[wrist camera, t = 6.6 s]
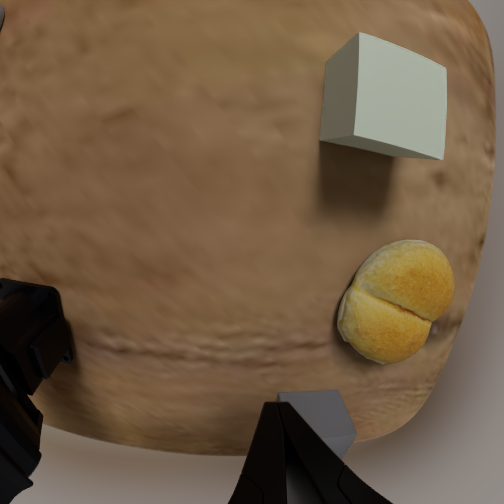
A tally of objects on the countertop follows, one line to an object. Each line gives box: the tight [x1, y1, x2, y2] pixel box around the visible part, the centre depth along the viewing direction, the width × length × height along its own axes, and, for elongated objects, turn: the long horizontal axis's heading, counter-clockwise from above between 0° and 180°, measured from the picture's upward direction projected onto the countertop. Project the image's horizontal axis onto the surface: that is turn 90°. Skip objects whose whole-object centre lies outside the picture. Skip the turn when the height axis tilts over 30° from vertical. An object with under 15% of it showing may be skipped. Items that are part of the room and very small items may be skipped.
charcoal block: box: [276, 390, 357, 459], centre depth 19 cm, size 5×5×5 cm
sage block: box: [319, 32, 447, 160], centre depth 12 cm, size 5×5×5 cm
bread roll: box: [337, 240, 455, 365], centre depth 17 cm, size 8×9×4 cm
